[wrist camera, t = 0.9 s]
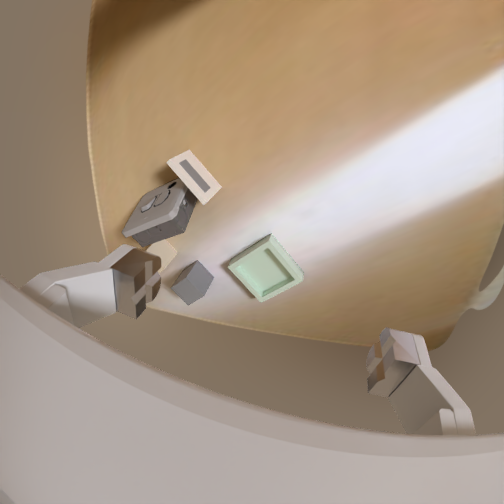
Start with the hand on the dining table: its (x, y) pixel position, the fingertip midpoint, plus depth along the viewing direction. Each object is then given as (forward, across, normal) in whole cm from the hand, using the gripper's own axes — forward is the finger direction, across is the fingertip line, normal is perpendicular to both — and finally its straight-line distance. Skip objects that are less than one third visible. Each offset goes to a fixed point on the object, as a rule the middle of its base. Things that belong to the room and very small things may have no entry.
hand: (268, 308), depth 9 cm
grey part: (+30, +13, +22) cm, 40 cm away
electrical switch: (+29, +18, +10) cm, 36 cm away
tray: (+30, +2, +17) cm, 35 cm away
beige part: (+30, +20, +19) cm, 41 cm away
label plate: (+29, +14, +4) cm, 32 cm away
